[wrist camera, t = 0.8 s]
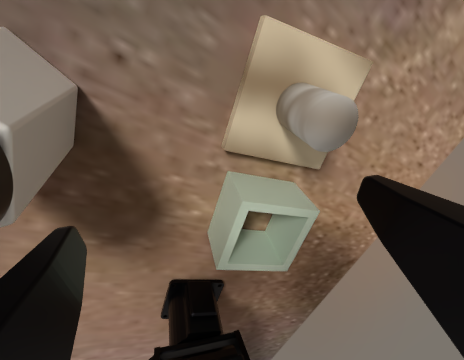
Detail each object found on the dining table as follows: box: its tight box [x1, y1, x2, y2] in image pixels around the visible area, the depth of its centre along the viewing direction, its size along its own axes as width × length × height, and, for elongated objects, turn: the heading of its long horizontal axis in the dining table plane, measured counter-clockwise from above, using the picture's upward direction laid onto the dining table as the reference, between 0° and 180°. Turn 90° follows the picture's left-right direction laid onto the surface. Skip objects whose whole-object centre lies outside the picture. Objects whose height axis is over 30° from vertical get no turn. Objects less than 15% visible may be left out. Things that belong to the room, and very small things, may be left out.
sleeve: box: [208, 171, 320, 271], centre depth 24 cm, size 7×7×5 cm
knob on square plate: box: [222, 15, 373, 169], centre depth 19 cm, size 10×10×6 cm
